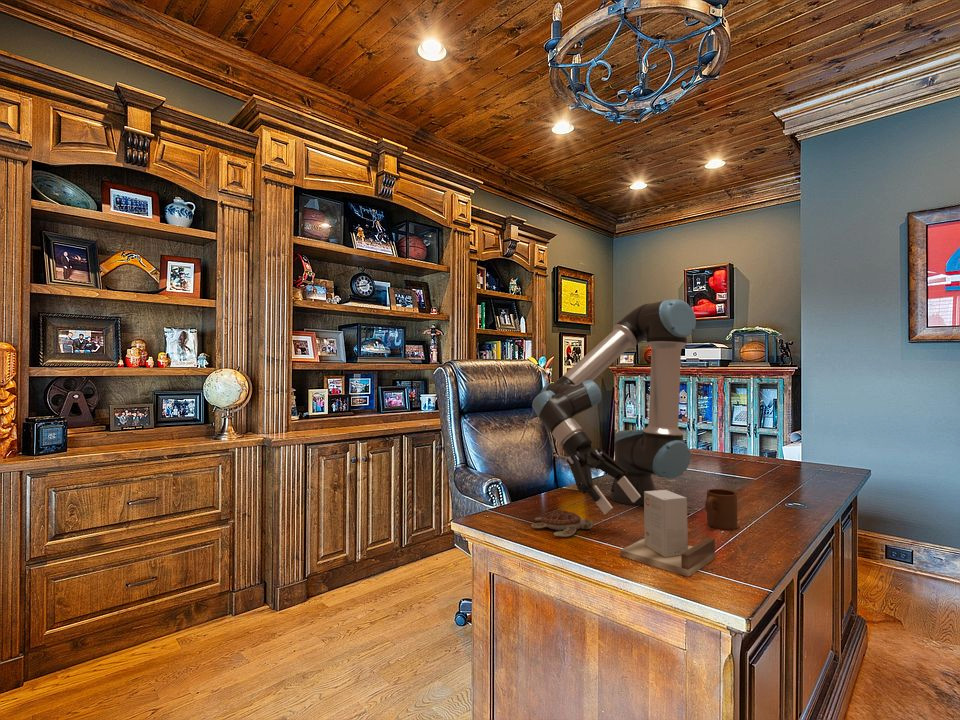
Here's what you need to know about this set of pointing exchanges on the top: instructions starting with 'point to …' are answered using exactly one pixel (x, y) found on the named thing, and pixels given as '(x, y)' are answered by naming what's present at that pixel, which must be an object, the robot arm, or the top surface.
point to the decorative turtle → (563, 523)
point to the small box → (665, 522)
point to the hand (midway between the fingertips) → (623, 505)
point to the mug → (721, 509)
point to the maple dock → (674, 557)
